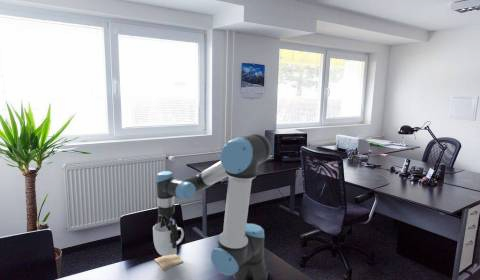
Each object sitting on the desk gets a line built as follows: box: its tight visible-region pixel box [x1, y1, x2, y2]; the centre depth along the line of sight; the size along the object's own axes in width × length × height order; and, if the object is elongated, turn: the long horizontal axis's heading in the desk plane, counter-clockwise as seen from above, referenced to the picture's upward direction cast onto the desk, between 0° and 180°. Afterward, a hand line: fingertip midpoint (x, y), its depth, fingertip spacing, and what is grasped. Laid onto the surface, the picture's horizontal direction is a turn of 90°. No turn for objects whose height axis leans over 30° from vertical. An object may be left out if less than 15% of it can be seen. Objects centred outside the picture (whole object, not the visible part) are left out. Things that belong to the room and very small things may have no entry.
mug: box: [152, 222, 185, 257], centre depth 142 cm, size 15×11×13 cm
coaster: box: [154, 253, 184, 271], centre depth 143 cm, size 10×10×1 cm
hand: (168, 248), depth 142 cm, fingers closed on mug, 11 cm apart
